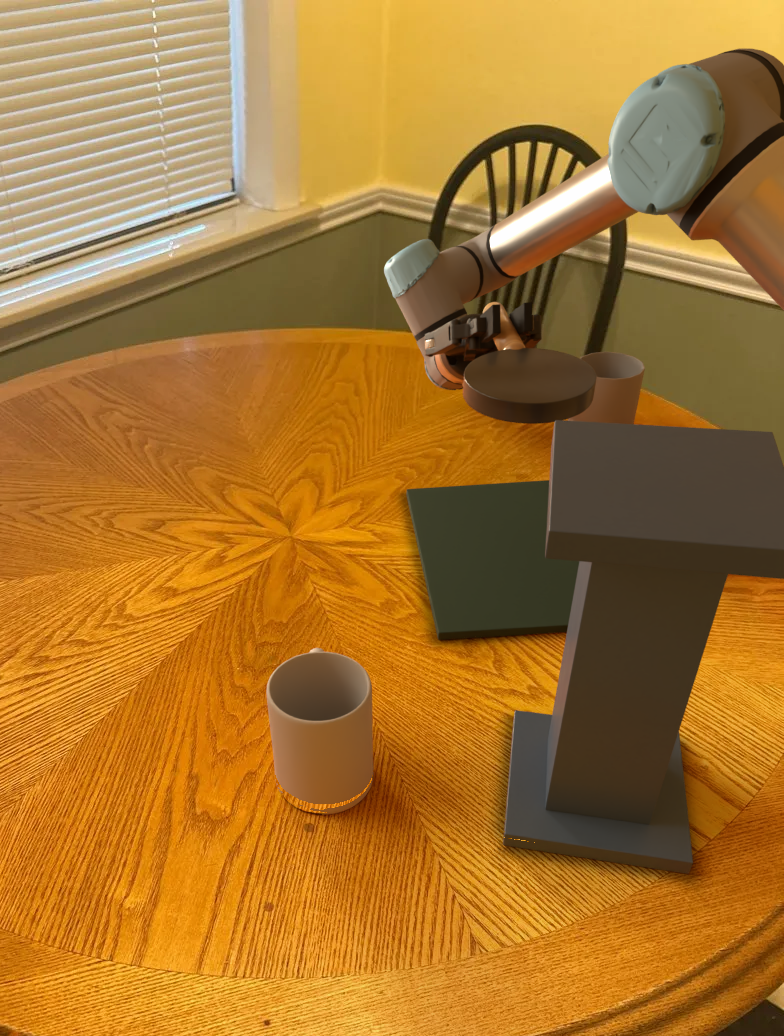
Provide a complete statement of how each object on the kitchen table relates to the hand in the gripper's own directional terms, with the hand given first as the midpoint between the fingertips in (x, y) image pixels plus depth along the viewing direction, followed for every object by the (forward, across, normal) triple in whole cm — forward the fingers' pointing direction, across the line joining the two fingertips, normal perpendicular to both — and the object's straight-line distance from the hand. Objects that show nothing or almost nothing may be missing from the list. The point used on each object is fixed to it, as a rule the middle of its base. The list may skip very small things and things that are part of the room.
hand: (512, 317), depth 88 cm
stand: (+21, -1, -42) cm, 47 cm away
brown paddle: (0, 0, -5) cm, 5 cm away
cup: (-31, -18, -12) cm, 38 cm away
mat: (-9, 0, -24) cm, 26 cm away
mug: (+17, +21, -39) cm, 48 cm away
